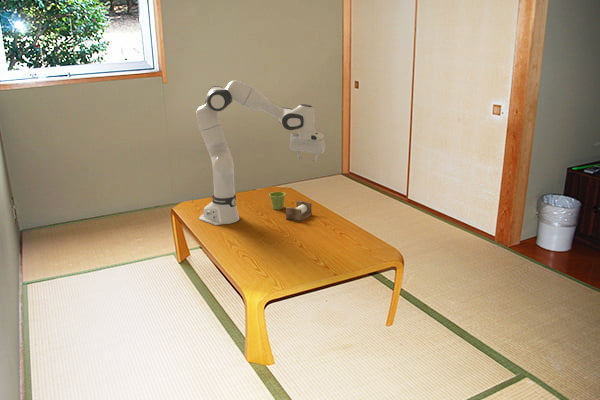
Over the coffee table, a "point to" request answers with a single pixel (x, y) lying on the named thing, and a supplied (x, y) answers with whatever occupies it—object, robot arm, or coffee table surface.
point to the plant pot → (277, 200)
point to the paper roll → (302, 208)
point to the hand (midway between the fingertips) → (307, 159)
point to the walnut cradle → (298, 212)
